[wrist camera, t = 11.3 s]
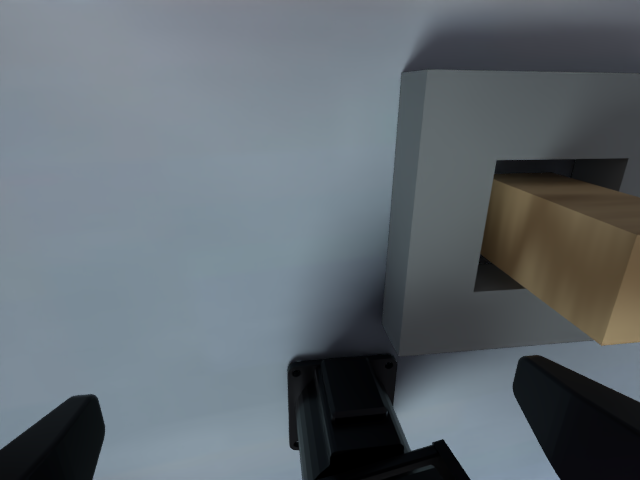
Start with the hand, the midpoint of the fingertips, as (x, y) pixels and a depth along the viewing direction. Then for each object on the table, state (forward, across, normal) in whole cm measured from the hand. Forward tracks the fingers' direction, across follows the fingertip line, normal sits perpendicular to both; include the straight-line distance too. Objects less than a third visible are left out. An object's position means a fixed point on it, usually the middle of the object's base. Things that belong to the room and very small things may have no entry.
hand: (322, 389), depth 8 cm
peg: (+12, -12, 0) cm, 17 cm away
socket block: (+12, -12, 0) cm, 17 cm away
